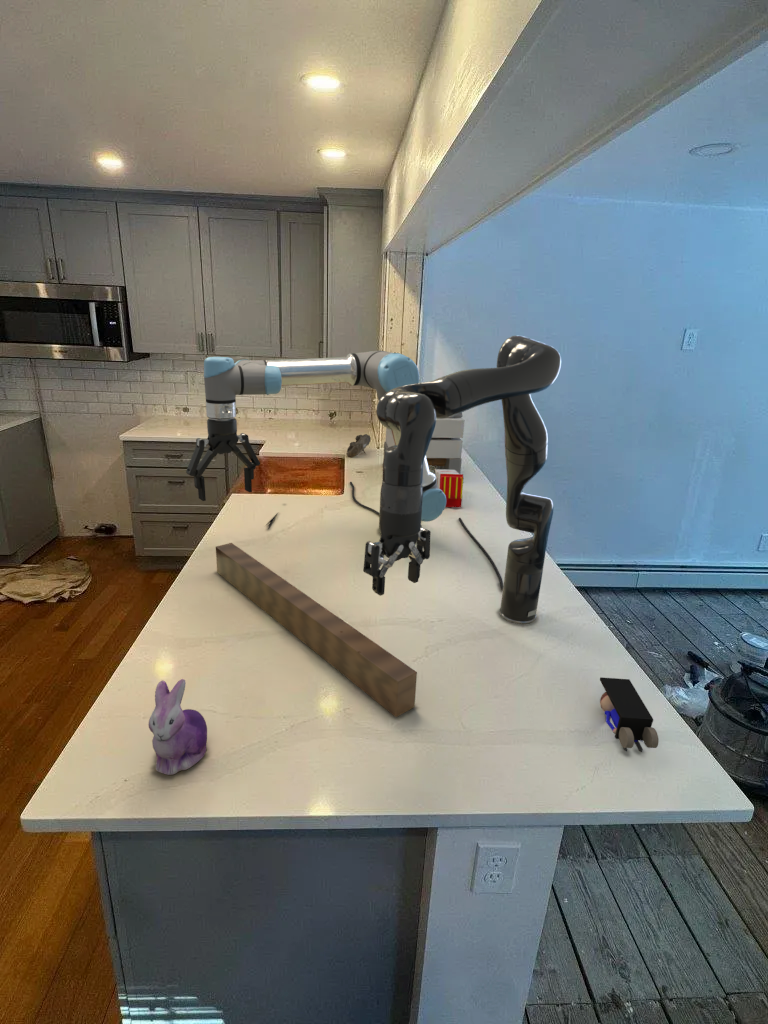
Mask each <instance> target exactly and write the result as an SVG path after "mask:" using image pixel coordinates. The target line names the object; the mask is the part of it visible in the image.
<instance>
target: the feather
mask: <svg viewBox="0 0 768 1024" xmlns="http://www.w3.org/2000/svg"><path fill="white" fill-rule="evenodd" d="M278 513H279V512H277V513H276V514H275V515H274V516H273V517H272V518H271V519H269V521H268V522H267V523H266V524H265V526H267V525H268V529H267V530H269V529H270V528H271V526H272V524H273V523H274V521H275V520H276V517H277V516H278Z"/></svg>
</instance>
